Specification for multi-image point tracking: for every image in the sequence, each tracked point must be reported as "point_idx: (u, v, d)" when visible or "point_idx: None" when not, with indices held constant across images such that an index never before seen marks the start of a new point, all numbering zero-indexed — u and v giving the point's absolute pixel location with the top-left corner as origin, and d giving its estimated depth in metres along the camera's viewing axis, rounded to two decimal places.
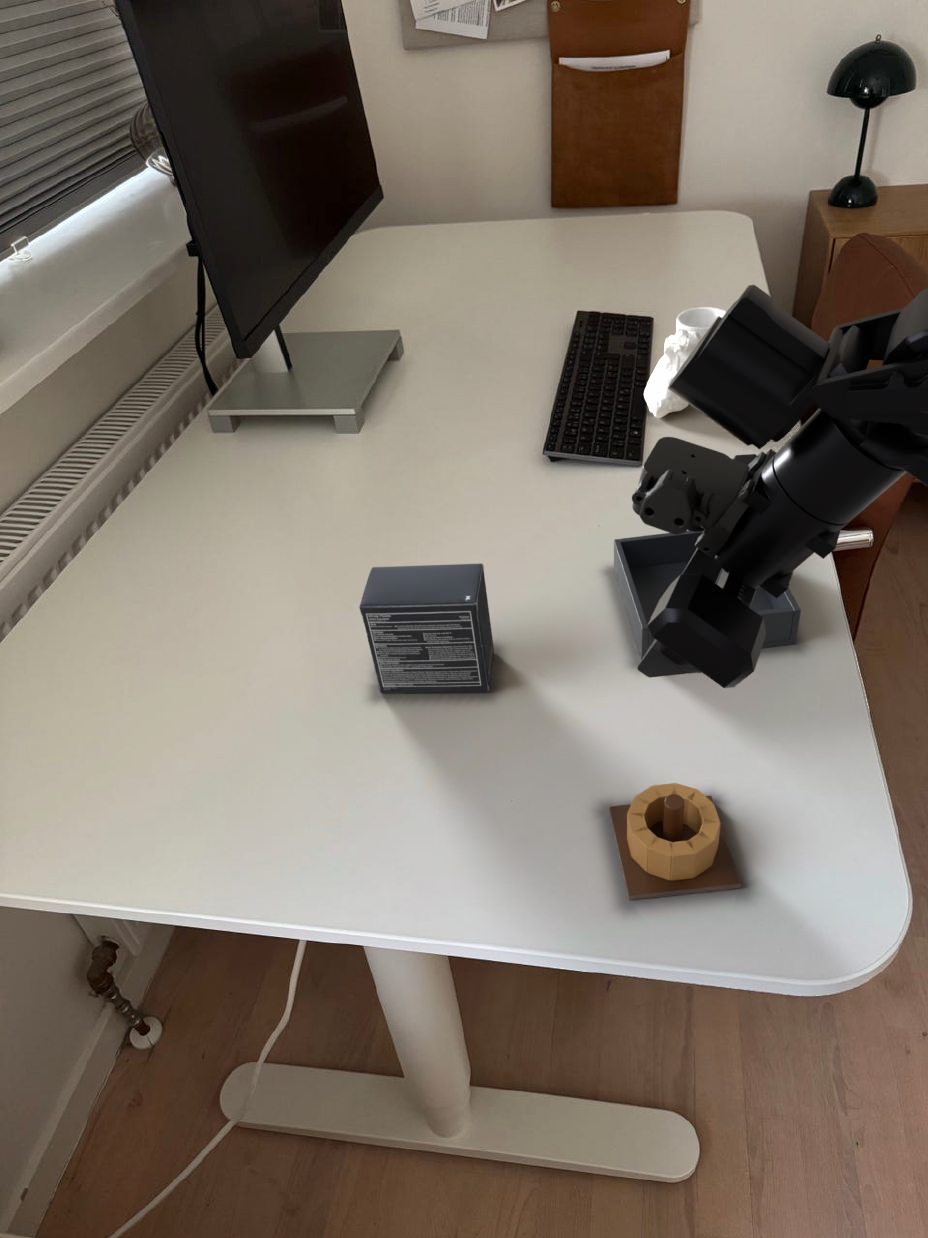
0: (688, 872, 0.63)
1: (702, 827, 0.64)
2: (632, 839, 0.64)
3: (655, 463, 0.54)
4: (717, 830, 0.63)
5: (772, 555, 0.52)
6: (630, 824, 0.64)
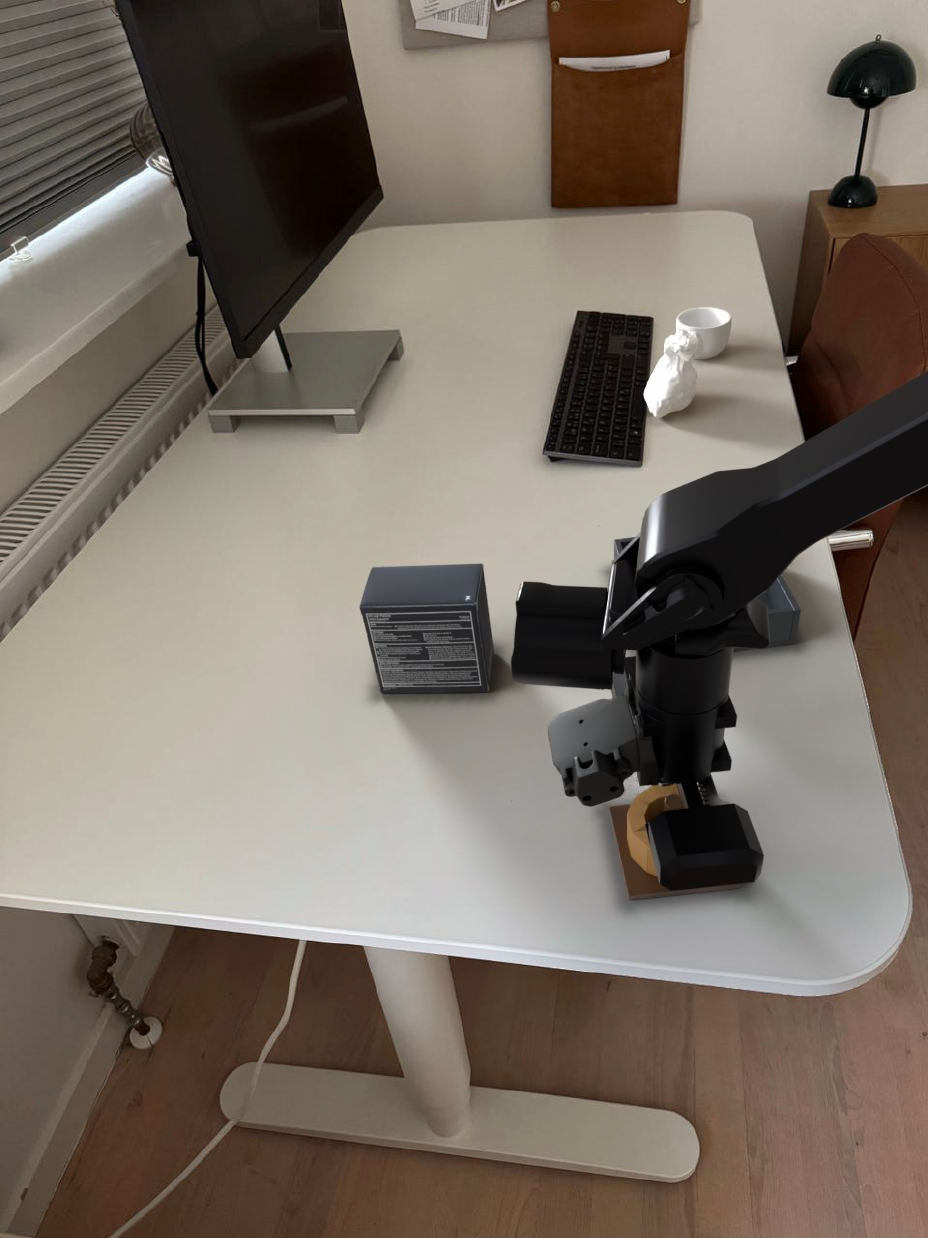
0: None
1: None
2: (632, 839, 0.64)
3: (560, 754, 0.58)
4: None
5: (699, 752, 0.56)
6: (630, 824, 0.64)
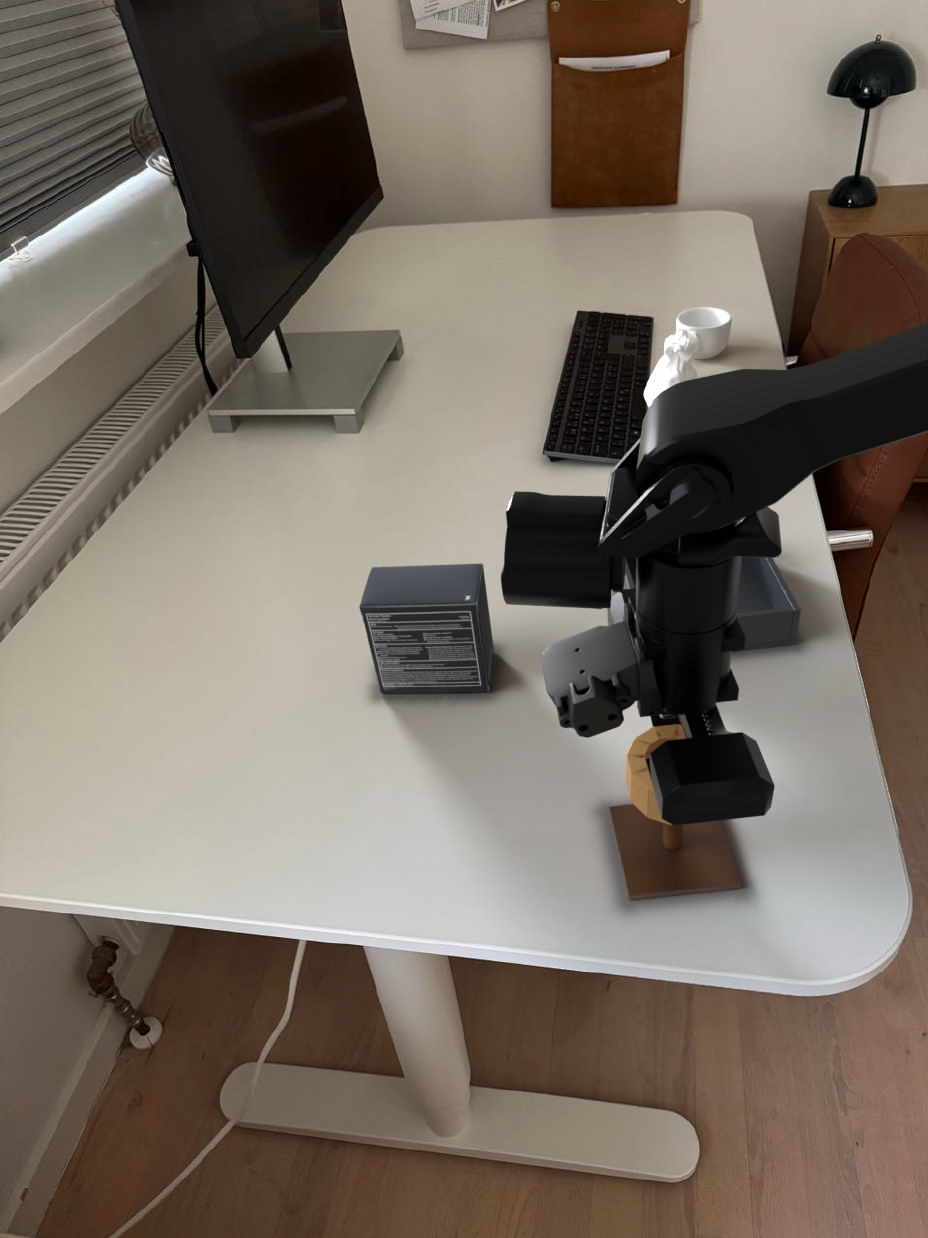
0: None
1: None
2: (632, 781, 0.60)
3: (555, 683, 0.54)
4: None
5: (704, 678, 0.52)
6: (630, 766, 0.60)
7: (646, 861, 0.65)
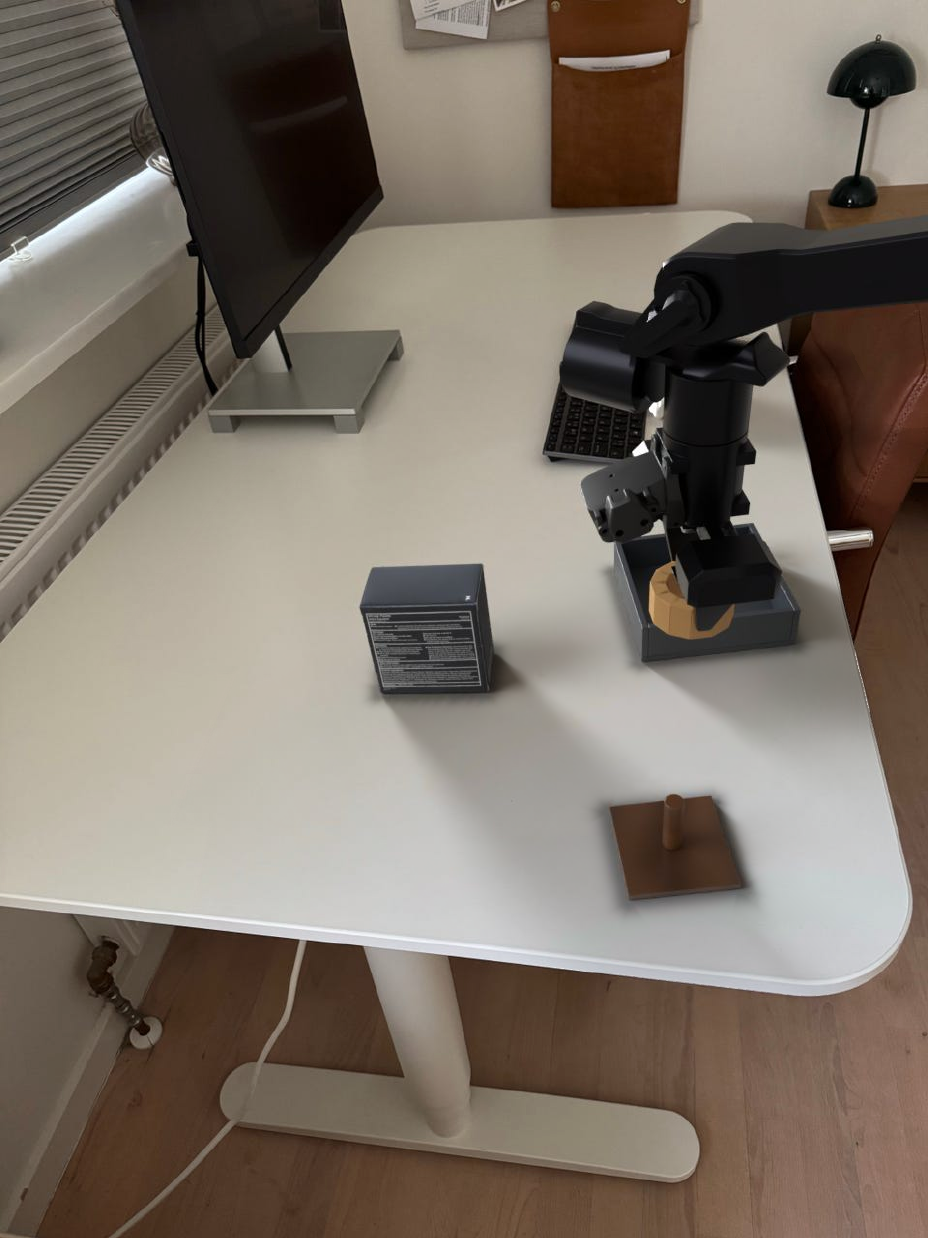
0: None
1: None
2: (655, 602, 0.69)
3: (593, 501, 0.63)
4: None
5: (721, 490, 0.61)
6: (653, 589, 0.70)
7: (646, 861, 0.65)
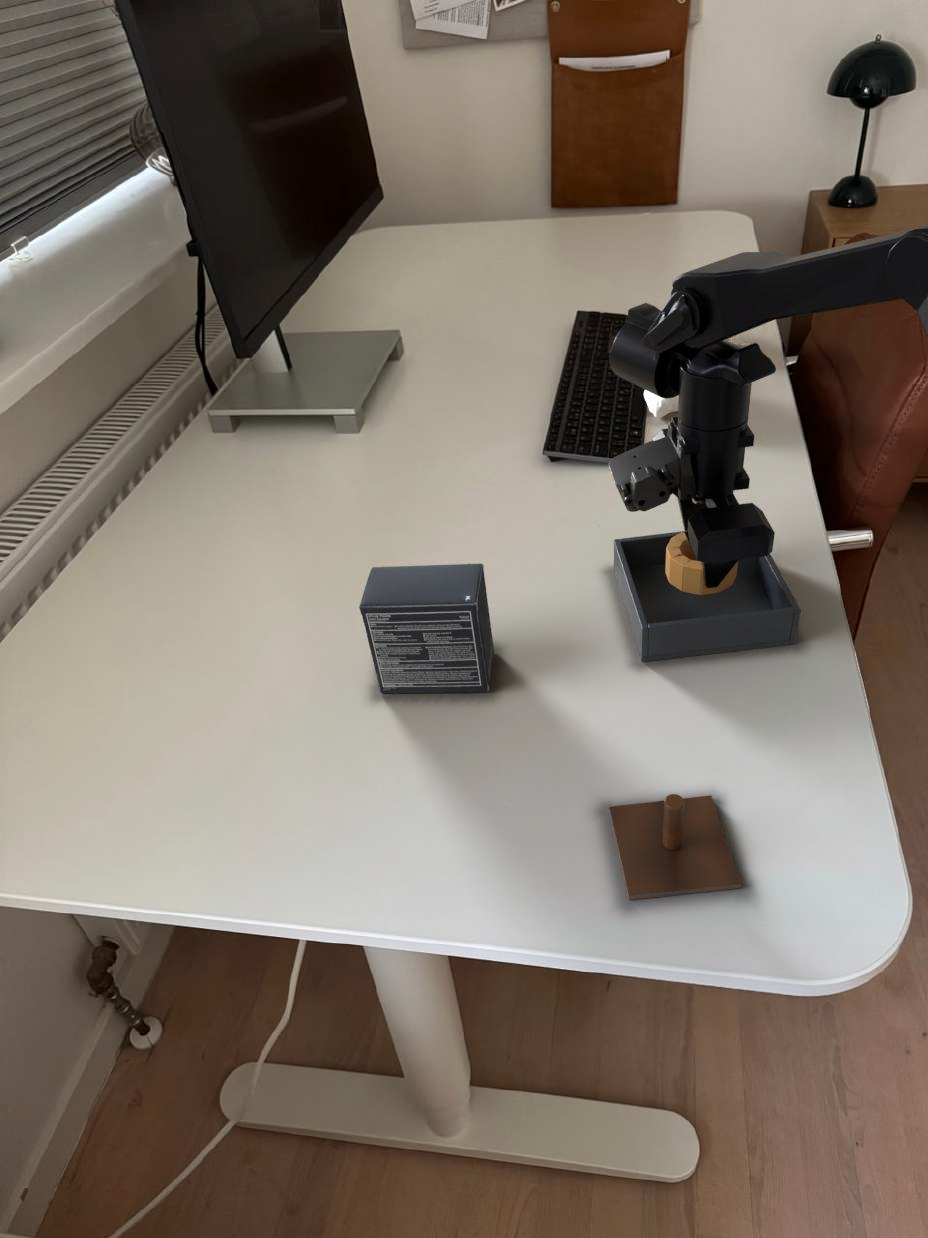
0: None
1: None
2: (670, 564, 0.83)
3: (620, 477, 0.77)
4: None
5: (725, 468, 0.75)
6: (669, 553, 0.83)
7: (646, 861, 0.65)
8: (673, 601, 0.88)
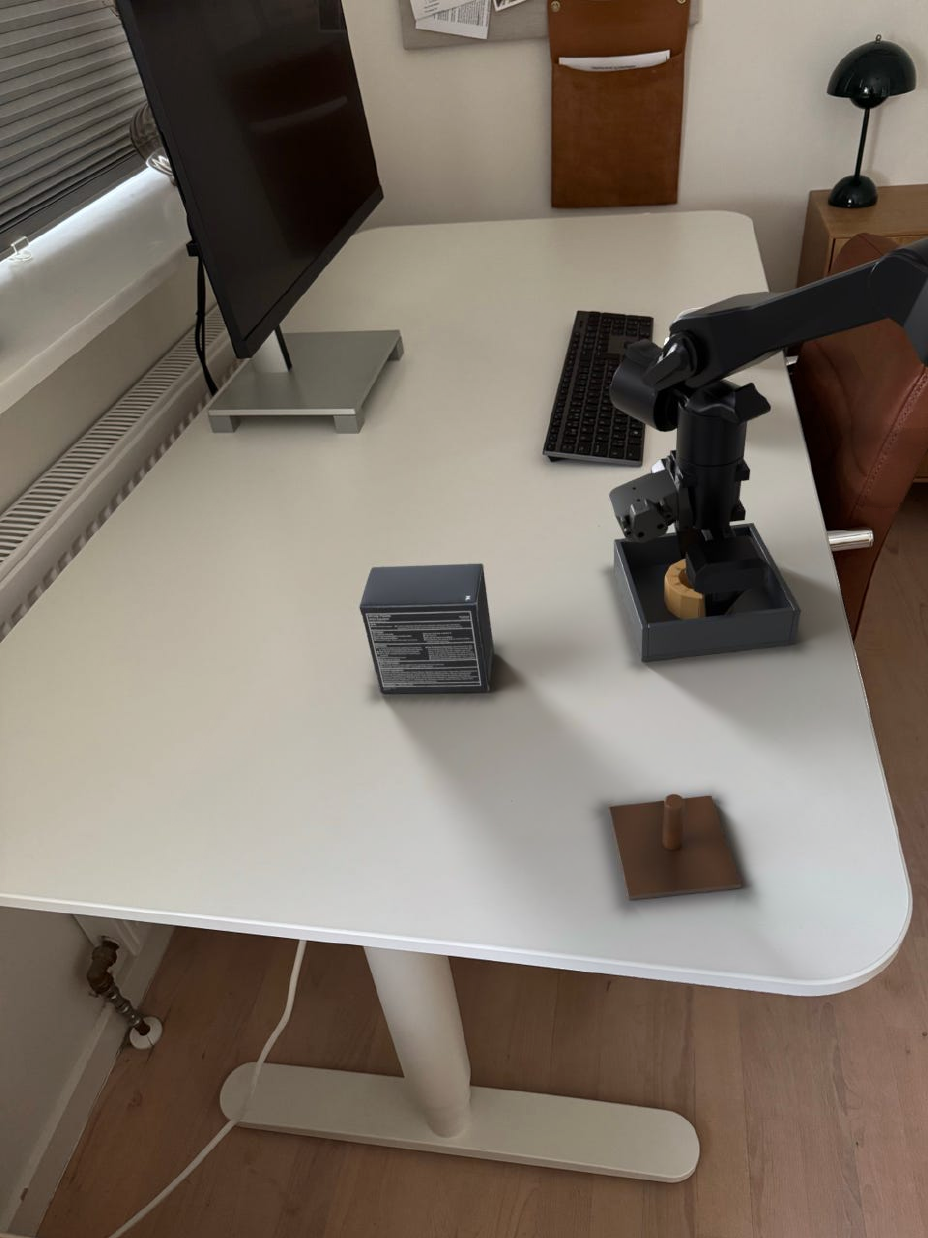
0: None
1: None
2: (669, 592, 0.85)
3: (619, 508, 0.79)
4: None
5: (722, 501, 0.77)
6: (667, 581, 0.85)
7: (646, 861, 0.65)
8: None
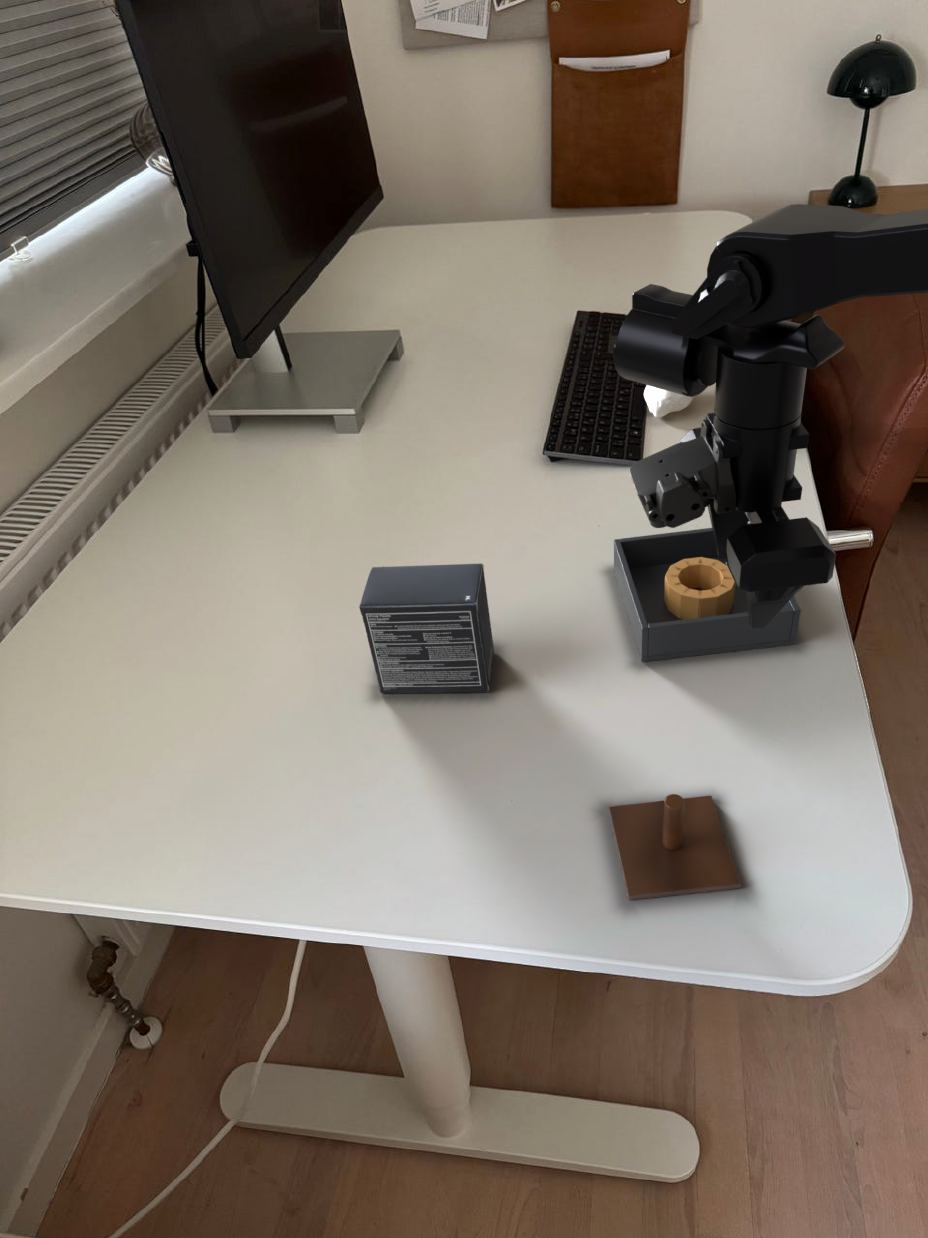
0: (711, 614, 0.84)
1: (722, 581, 0.84)
2: (669, 592, 0.85)
3: (643, 486, 0.63)
4: (733, 582, 0.84)
5: (773, 475, 0.61)
6: (667, 581, 0.85)
7: (646, 861, 0.65)
8: None
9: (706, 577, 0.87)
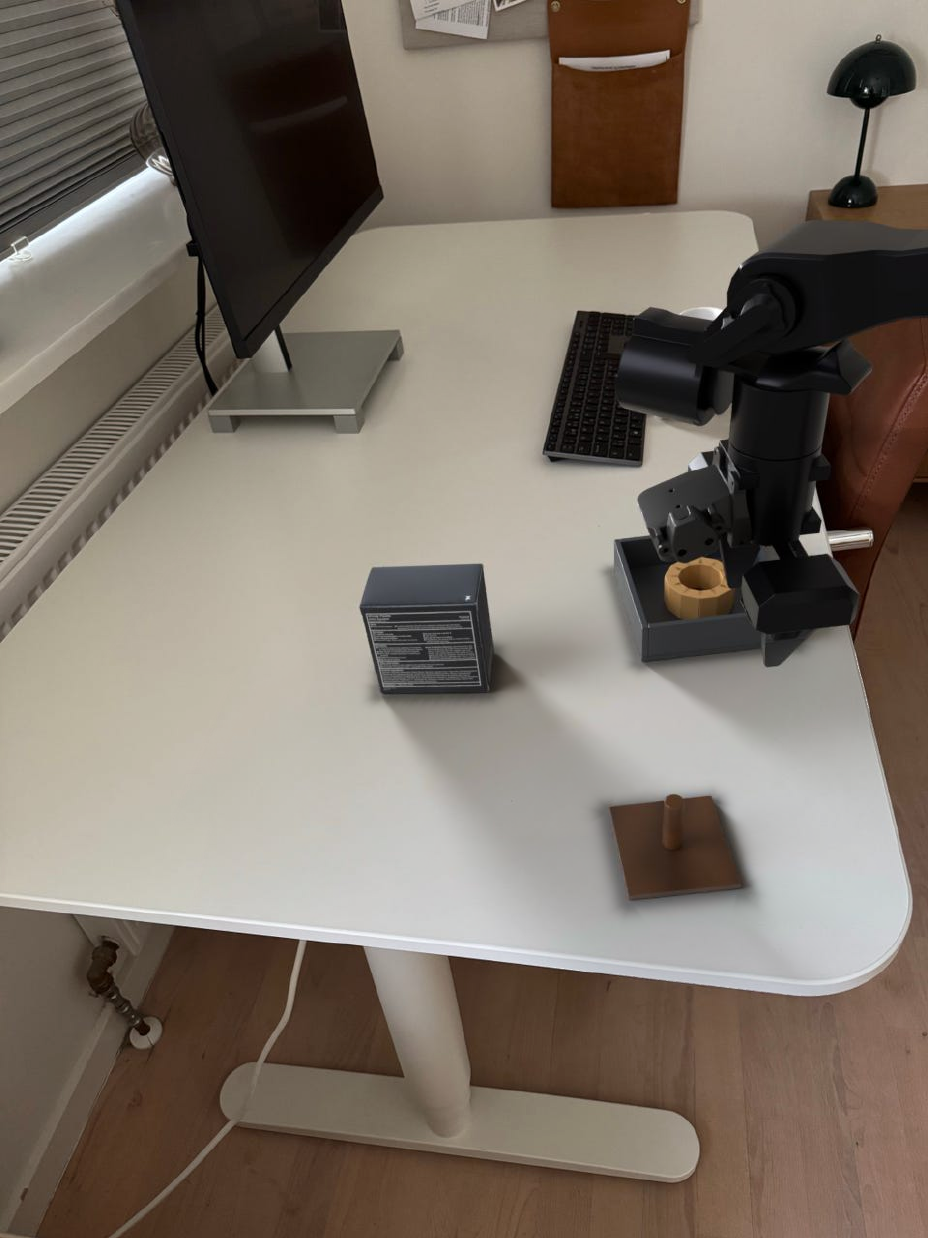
0: (711, 614, 0.84)
1: (722, 581, 0.84)
2: (669, 592, 0.85)
3: (652, 517, 0.59)
4: None
5: (791, 507, 0.57)
6: (667, 581, 0.85)
7: (646, 861, 0.65)
8: None
9: (706, 577, 0.87)
